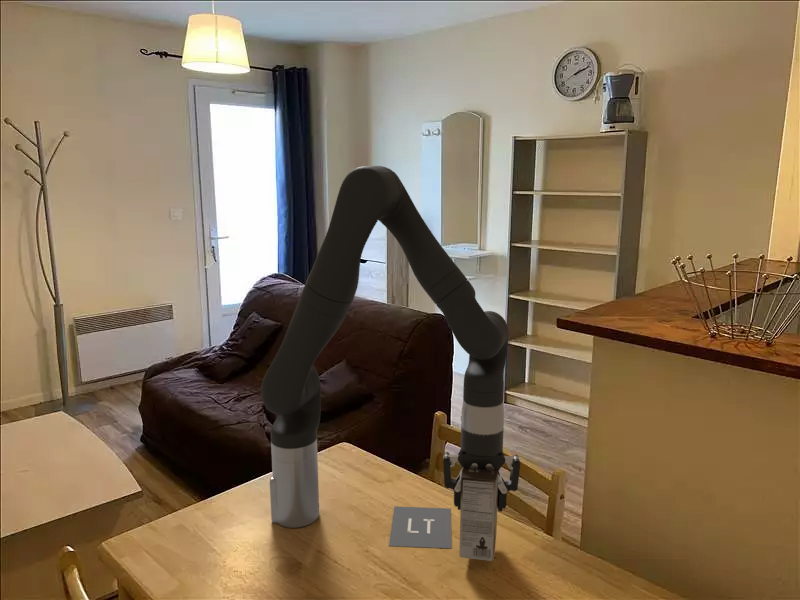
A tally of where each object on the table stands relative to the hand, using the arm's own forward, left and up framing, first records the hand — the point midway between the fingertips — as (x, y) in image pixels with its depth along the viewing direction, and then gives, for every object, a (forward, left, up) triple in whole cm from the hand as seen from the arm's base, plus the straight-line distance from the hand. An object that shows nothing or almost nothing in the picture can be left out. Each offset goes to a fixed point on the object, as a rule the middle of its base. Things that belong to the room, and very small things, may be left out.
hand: (479, 508), depth 113 cm
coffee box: (0, 0, -8) cm, 8 cm away
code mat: (-11, +9, -10) cm, 17 cm away
